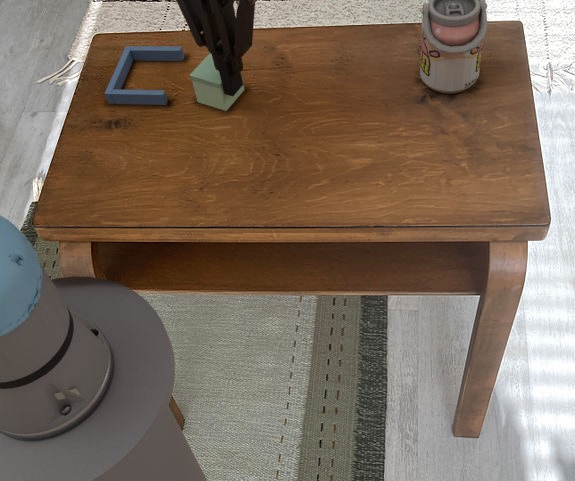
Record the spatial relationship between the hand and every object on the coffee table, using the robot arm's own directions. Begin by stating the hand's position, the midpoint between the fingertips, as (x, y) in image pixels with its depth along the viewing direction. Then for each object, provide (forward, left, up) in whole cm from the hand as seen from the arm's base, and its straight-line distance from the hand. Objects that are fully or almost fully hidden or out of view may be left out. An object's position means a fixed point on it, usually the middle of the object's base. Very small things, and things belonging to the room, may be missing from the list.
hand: (233, 89), depth 104 cm
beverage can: (+29, +6, -3) cm, 30 cm away
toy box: (-3, +2, -3) cm, 5 cm away
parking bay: (-14, +5, -3) cm, 16 cm away
